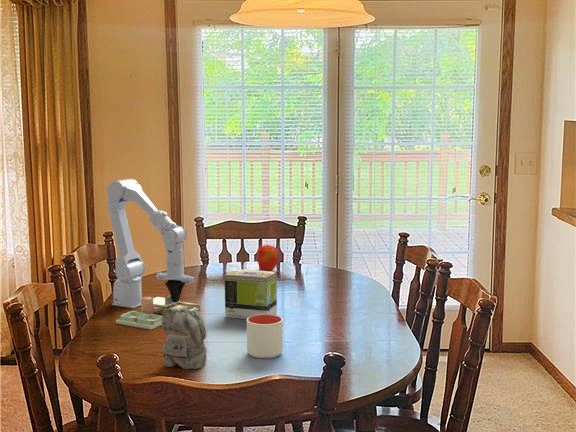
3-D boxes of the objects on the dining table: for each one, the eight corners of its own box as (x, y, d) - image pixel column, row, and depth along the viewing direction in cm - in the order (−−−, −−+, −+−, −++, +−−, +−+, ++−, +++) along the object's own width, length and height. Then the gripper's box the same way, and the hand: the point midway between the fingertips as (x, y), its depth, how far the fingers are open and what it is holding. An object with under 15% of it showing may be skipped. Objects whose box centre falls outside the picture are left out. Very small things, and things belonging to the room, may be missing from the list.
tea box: (277, 313, 232) (277, 270, 230) (266, 322, 222) (266, 277, 220) (236, 309, 237) (235, 267, 234) (224, 317, 227) (223, 274, 225)
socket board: (115, 323, 221) (115, 316, 220) (134, 316, 229) (134, 309, 228) (150, 329, 214) (150, 322, 214) (168, 321, 222) (168, 315, 222)
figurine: (174, 355, 191) (173, 303, 189) (211, 359, 188) (211, 306, 186) (157, 368, 182) (155, 313, 180) (196, 373, 179) (195, 317, 176)
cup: (246, 348, 198) (246, 314, 196) (281, 347, 198) (281, 313, 197) (247, 360, 188) (247, 325, 186) (284, 359, 189) (284, 324, 187)
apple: (257, 273, 290) (257, 245, 288) (256, 269, 298) (255, 241, 297) (279, 273, 290) (279, 245, 289) (277, 268, 299) (277, 241, 298)
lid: (143, 303, 236) (142, 295, 236) (157, 298, 243) (157, 289, 243) (165, 307, 232) (165, 298, 231) (180, 301, 239) (179, 293, 238)
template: (142, 310, 235) (142, 305, 235) (160, 303, 244) (160, 298, 244) (183, 317, 228) (182, 311, 227) (200, 309, 236) (200, 304, 236)
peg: (138, 316, 228) (138, 298, 228) (146, 313, 232) (146, 296, 231) (148, 318, 227) (148, 300, 226) (156, 314, 230) (155, 297, 229)
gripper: (150, 262, 232) (151, 301, 234) (185, 267, 226) (186, 307, 228) (163, 258, 238) (164, 296, 240) (197, 262, 232) (198, 302, 234)
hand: (175, 301), depth 234 cm, fingers closed
